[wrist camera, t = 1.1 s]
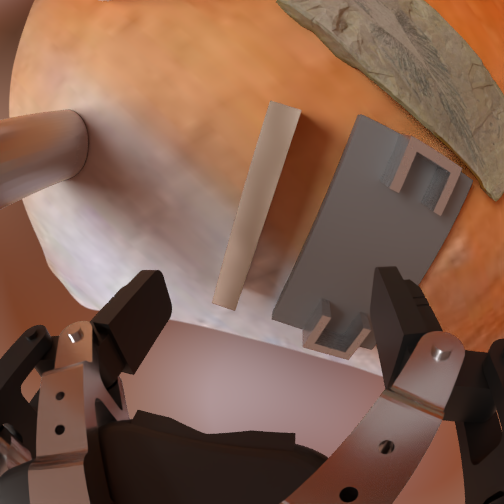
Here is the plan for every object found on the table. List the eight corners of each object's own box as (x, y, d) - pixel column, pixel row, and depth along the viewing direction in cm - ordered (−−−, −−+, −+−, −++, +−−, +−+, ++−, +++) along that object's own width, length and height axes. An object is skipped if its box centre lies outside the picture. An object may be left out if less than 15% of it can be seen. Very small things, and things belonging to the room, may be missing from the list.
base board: (272, 311, 34) (271, 319, 33) (357, 114, 23) (361, 114, 21) (369, 342, 34) (371, 349, 33) (466, 177, 23) (473, 180, 22)
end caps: (302, 329, 33) (302, 346, 30) (399, 133, 21) (411, 135, 19) (346, 342, 33) (348, 359, 30) (447, 162, 22) (462, 168, 19)
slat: (223, 278, 33) (211, 303, 29) (275, 104, 24) (270, 100, 19) (243, 284, 33) (235, 310, 29) (300, 112, 24) (301, 110, 19)
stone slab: (334, -60, 12) (545, 139, 15) (332, -41, 16) (524, 135, 19) (263, 10, 17) (499, 217, 20) (269, 25, 21) (480, 206, 24)
